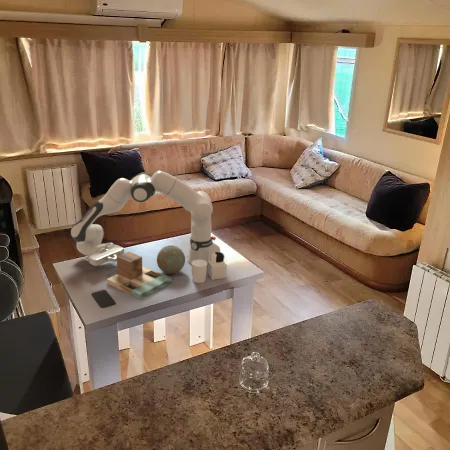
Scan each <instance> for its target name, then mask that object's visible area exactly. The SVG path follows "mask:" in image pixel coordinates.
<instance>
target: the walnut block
mask: <svg viewBox="0 0 450 450" xmlns="http://www.w3.org/2000/svg"><path fill="white" fill-rule="evenodd" d="M142 266H143V256H140V255H138V254H136V253H133V252H132V251H126V252H124V254H121V255H119V256H117V261H116V268H117V271H116V272H117V274H119V275H121V276H123V277H125V278H127V279H130V280H132V279H134V278H136V277H138V276H141V275H143V273H142Z"/></svg>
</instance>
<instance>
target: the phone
mask: <svg viewBox="0 0 450 450" xmlns="http://www.w3.org/2000/svg"><path fill="white" fill-rule="evenodd" d="M91 296H92V297H93V299H94V300H95V302H97V305H98V306H99V307H100V308H102V309H105V308H107V307H112V306H115V305H116V303H117V302H116V301H115V300H114V298H113V297H112V296H111V295H110V294H109V292H108V291H107V289H103V290H98V291H94V292H92V293H91Z"/></svg>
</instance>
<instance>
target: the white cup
mask: <svg viewBox="0 0 450 450" xmlns="http://www.w3.org/2000/svg"><path fill="white" fill-rule="evenodd" d="M207 272H208V266H207V262H206V261H204V260H194V261H193V262H192V264H191V276H192V277H191V278H192V282H193V283H195V284H203V283H205V282H206V279H207V277H206V276H207Z"/></svg>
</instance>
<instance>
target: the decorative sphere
mask: <svg viewBox="0 0 450 450" xmlns="http://www.w3.org/2000/svg"><path fill="white" fill-rule="evenodd" d="M185 263H186V256H185V253H184V251H183V250H182V249H181V248H180V247H178V246H177V245H167V246H164V247H162V248H161V249H160V250H159V252H158V253H157V256H156V264H157V267H158V268H159V270H160V271H161V272H163V273H165V274H169V275H174V274H176V273H178V272H181V270H182V269H183V268H184V266H185Z"/></svg>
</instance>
